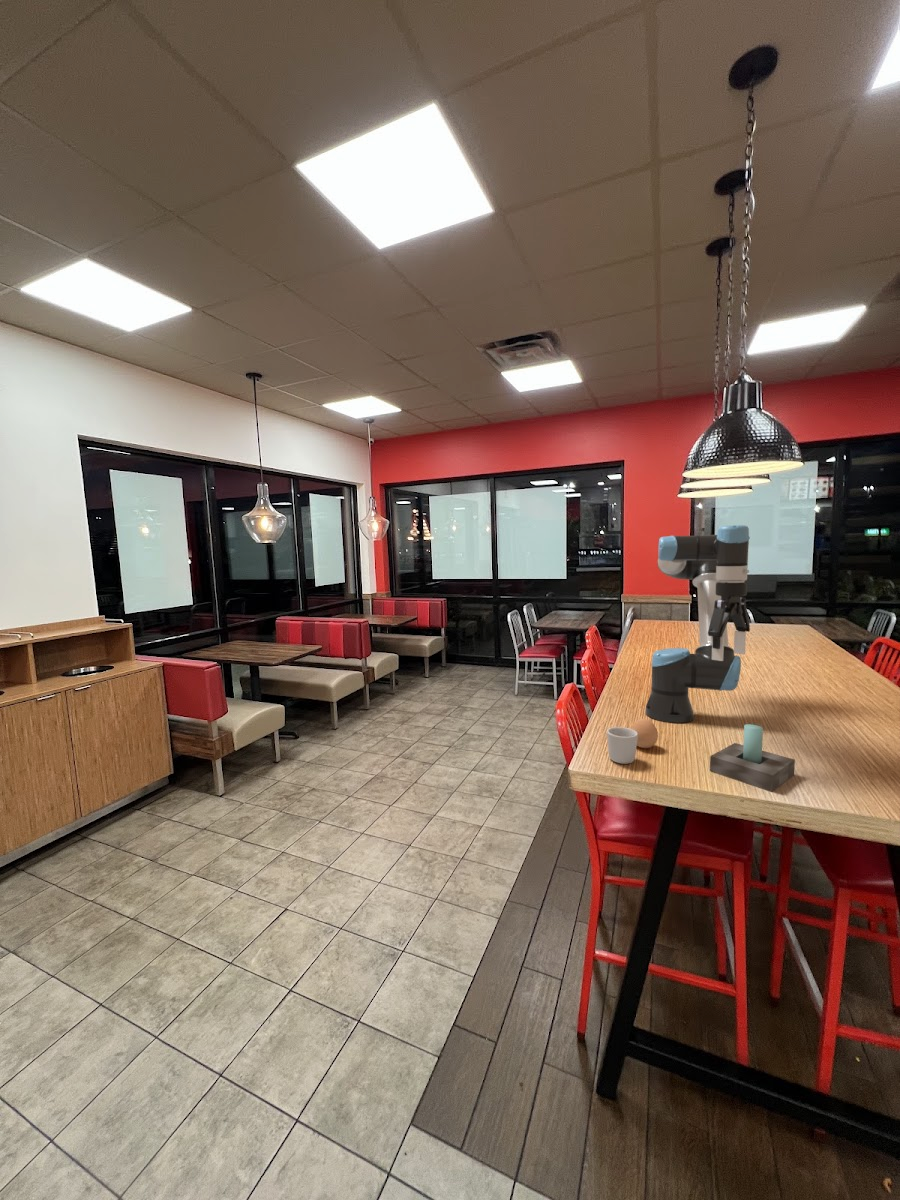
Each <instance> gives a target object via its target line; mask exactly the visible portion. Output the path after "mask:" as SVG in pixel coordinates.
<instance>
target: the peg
mask: <svg viewBox="0 0 900 1200" xmlns="http://www.w3.org/2000/svg"><path fill="white" fill-rule="evenodd" d="M763 735H764V728H763V726H760V725H756V724H749V723H748V724H747V723H746V724H744V726H743V744H742V745H743V760H747V761H750V762H753V763H757V764H761V763H762V751H763V739H764V738H763Z"/></svg>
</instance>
